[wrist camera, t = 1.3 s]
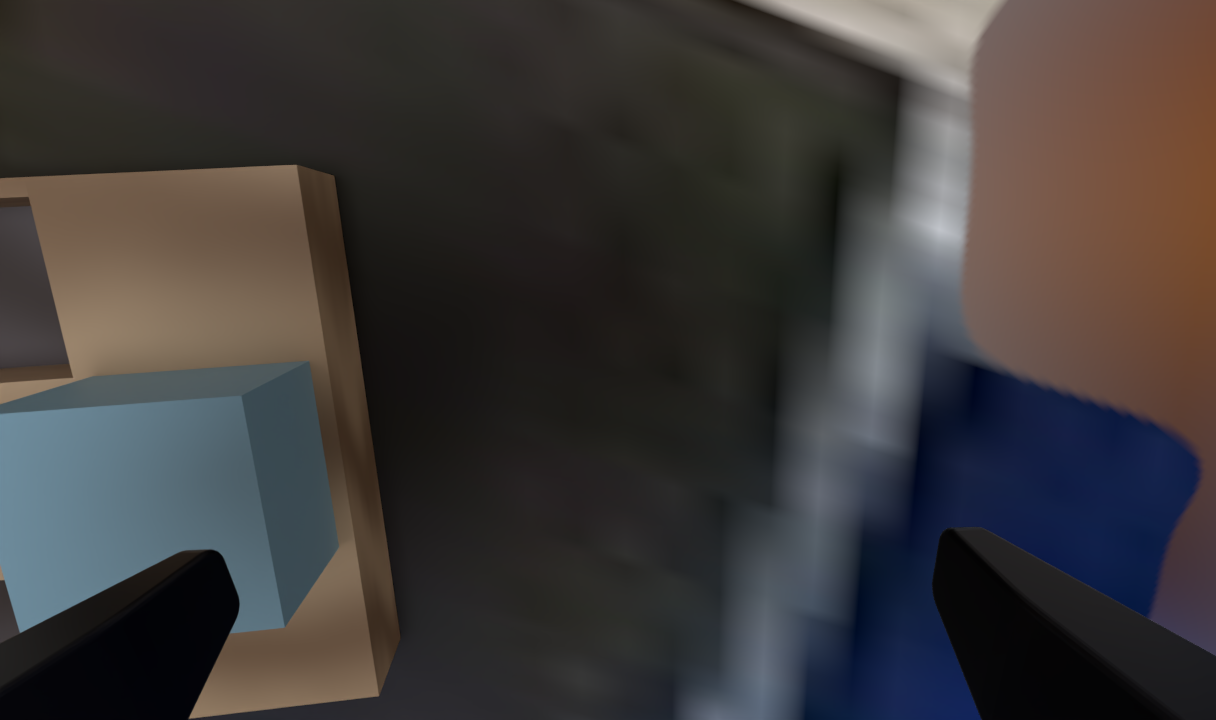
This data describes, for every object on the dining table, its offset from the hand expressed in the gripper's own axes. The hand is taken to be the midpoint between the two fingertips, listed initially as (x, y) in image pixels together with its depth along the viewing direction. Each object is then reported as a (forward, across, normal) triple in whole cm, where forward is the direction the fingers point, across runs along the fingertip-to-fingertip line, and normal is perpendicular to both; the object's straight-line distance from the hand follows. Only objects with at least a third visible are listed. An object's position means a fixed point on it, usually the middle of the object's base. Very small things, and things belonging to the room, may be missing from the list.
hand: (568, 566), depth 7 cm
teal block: (+9, +12, +4) cm, 15 cm away
